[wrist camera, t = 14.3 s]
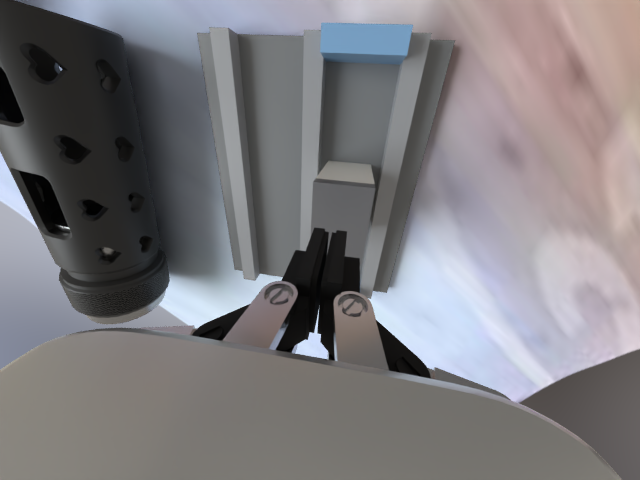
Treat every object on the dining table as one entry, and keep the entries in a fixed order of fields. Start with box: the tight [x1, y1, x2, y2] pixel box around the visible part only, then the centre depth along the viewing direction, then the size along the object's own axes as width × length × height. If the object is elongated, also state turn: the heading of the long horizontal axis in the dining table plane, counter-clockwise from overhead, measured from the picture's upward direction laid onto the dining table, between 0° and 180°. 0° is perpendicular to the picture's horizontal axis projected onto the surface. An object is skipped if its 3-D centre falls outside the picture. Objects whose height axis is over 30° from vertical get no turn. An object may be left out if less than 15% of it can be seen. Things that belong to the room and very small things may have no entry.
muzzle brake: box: [0, 0, 170, 324], centre depth 23 cm, size 10×28×10 cm, turn 168°
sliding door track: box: [197, 23, 455, 299], centre depth 22 cm, size 24×20×4 cm
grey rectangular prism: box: [311, 161, 375, 266], centre depth 19 cm, size 6×4×8 cm, turn 176°
